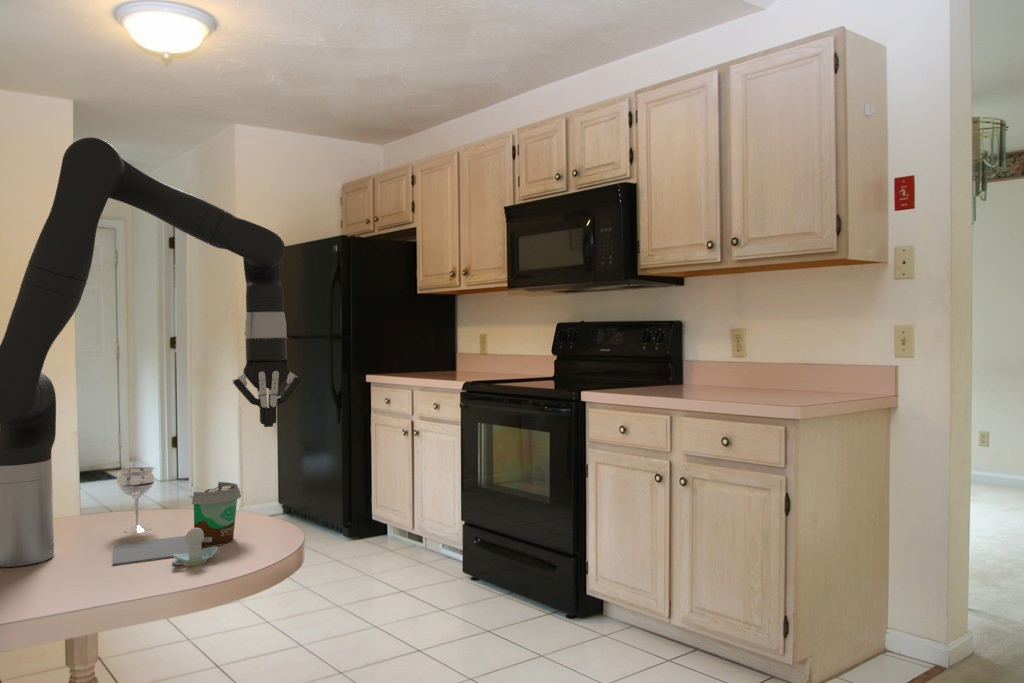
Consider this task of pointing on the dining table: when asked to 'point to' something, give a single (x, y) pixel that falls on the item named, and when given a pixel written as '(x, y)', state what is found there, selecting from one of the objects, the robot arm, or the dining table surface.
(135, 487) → the wineglass
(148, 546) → the mat
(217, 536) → the food container
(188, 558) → the pacifier
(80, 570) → the dining table surface
